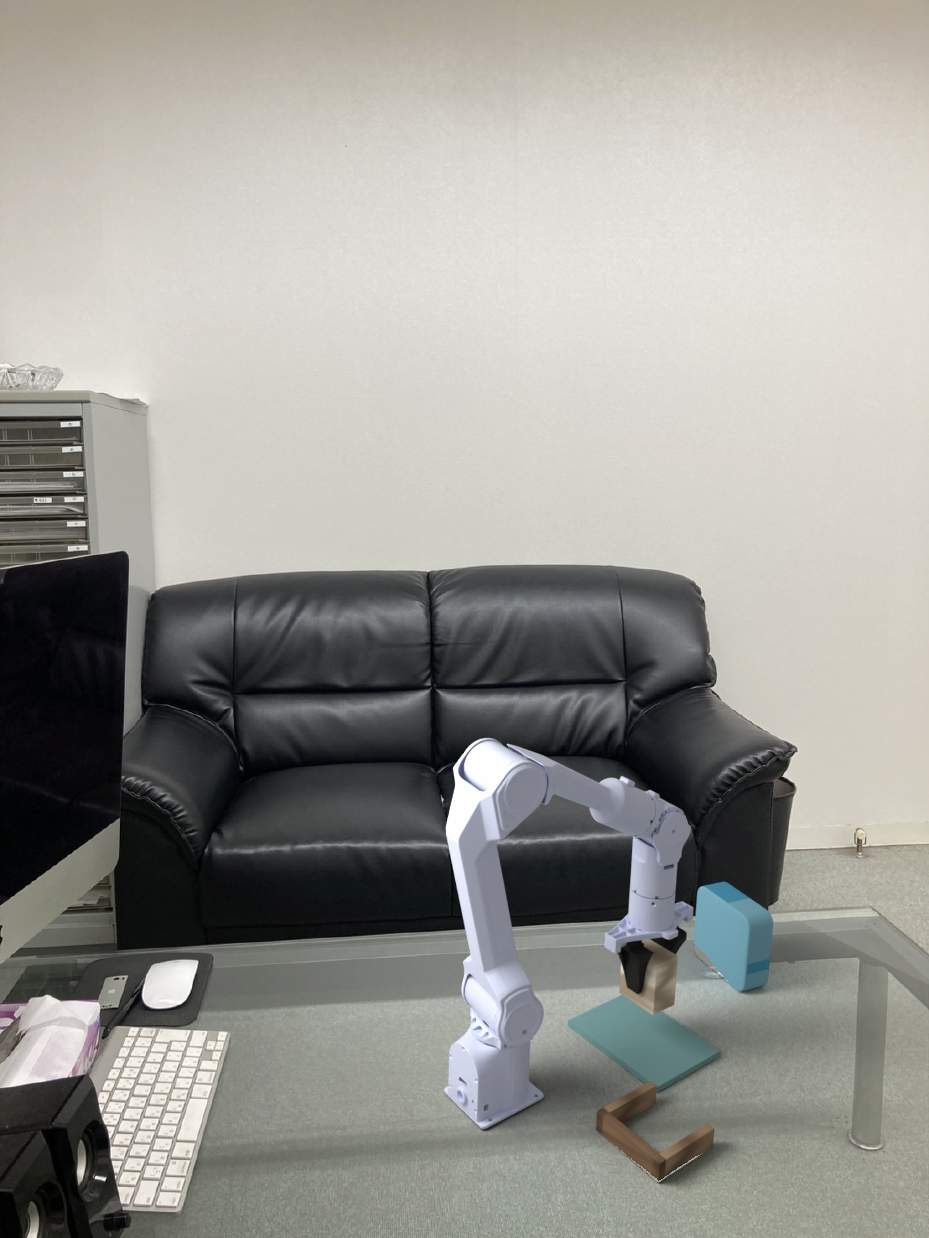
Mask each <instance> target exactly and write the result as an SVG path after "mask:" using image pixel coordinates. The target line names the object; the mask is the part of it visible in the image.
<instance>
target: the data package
mask: <svg viewBox="0 0 929 1238" xmlns="http://www.w3.org/2000/svg"><path fill="white" fill-rule="evenodd" d="M696 893H697V894H696V908H695V920H694V933H693V943H695V945H697V947H698V948H700V949H701V951H703V953H705V955H707V957H708V959H710V961H711V962H712V964H714V966H715V967H716V969H718V971H719V972H720V973H721V974H722V975H723V976H724V977H725V978H726V980H728V982H729V983H728V985H730V987H732V988H734V989H735V990H736V991H737V992H746V991H749V990H753V989H756V988H760V987H764V986H766V985H767V983H768V980H769V971H770V963H771V962H770V961H771V953H772V952H771V951H772V941H773V930H774V920H773V917H772V914H771V913H770V911H769V910H768V909H766V908H765V907H763V906H762V905H761V904H759V903H757V902H756V901H754V900H753V899H752V898H751V897H749V896H748V895H746V894H745V893H743V892H741V890H739V889H737V888H735V886H733V885H731V884H730V883H729V882H726V881H720V882H715V883H712V884H706V885H703V886H700V887H699V888H698V890H697V892H696Z"/></svg>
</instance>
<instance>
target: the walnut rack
mask: <svg viewBox="0 0 929 1238" xmlns="http://www.w3.org/2000/svg"><path fill="white" fill-rule="evenodd" d="M656 1092H657V1085H656V1084H655V1083H653V1082H652V1081H649V1082H647V1083H646V1084H644V1083H643V1084H641V1086H638V1087H637V1088H635V1089H633V1090H632V1091H629V1092H627V1094H625V1095H623V1096H621V1097H619V1098H617V1099H616V1100H613V1101H611V1102H610V1103H609V1104H607V1105H605V1106H603V1107H602V1108H600V1109H597V1111H596V1121H595V1131H597V1132H598V1133H599V1134H600V1135H601V1136H602V1137H603V1138H605V1140H607V1141H609V1143H611V1144H612V1143H613V1144H614V1145H616V1146H617V1147H618V1148H619V1149H620V1150H622V1151H623V1152H624V1153H625V1154H626V1155H627V1156H628V1157H630V1158H632V1160H633V1161H635V1162H636V1163H637V1164H639V1165H640V1166H642V1167H643V1168H644V1169H646V1171H648V1172H650V1174H651V1175H652V1176H654V1177H655V1178H657V1180H658V1181H659V1180H661V1179H663V1178H664V1177H665V1176H667V1175H669V1174H670V1173H671V1172H672V1171H674V1170H676V1169H677V1168H678V1167H680V1166H682V1165H683V1164H685V1163H687V1162H688V1161H689V1160H691V1159H692V1158H694V1157H695V1156H698V1155H700V1154H702V1153H704V1152H705V1151H707V1150H708V1151H710V1150H712V1149H713V1148H714V1138H715V1137H714V1135H715V1128H714V1127H713V1126H712V1125H711V1124H710V1123H708V1122H707V1123H705V1124H704V1125H702V1126H701V1127H699V1128H698V1129H695V1130H694V1131H693V1132H691V1133H689V1134H688V1135H687V1136H685V1137H683V1138H682V1139H680V1140H679V1141H677V1142H676V1143H673V1144H672V1145H670V1146H669V1147H668V1148H666V1149H664V1150H663V1151H661V1152H660V1153H659V1152H658V1151H657V1150H655V1149H654V1148H653V1147H652V1146H651V1145H650V1144H649V1143H647V1142H646V1141H645V1140H643V1139H642V1138H641V1137H639V1136H638V1135H637V1134H636V1133H635V1132H634V1131H633V1130H631V1129H630V1128H629V1127H627V1126H626V1125H625V1124H624V1123H625V1122H627V1121H629V1120H630V1119H632V1118H634V1117H635V1116H637V1115H639V1114H640V1113H642V1112H644V1111H646V1110H647V1109H649V1108H651V1107H653V1106H654V1105H655V1104H656V1103H657V1093H658V1092H657V1093H656ZM613 1144H612V1145H613ZM614 1145H613V1146H614ZM618 1148H617V1149H618ZM619 1149H618V1150H619ZM709 1149H710V1150H709ZM620 1150H619V1151H620ZM708 1151H707V1152H708ZM705 1153H706V1152H705ZM705 1153H704V1154H705ZM625 1154H624V1155H625ZM626 1155H625V1156H626ZM702 1155H703V1154H702ZM627 1156H626V1157H627ZM628 1157H627V1158H628ZM632 1160H631V1161H632ZM633 1161H632V1162H633Z"/></svg>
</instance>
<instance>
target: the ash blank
mask: <svg viewBox="0 0 929 1238" xmlns="http://www.w3.org/2000/svg"><path fill="white" fill-rule="evenodd" d="M642 943H644V947H646V948H647V949H649V950H651V951H652V952H653V955H652V956H651V958H650V960H649V962H648V965H647V969H646V973H645V980H644V986H643V990H642V992H641V993H640V994H636V993H635V992H633V991H632V990H630V989H629V988H627V985H626V980H625V975H624V970H623V967H622V963H621V962H620V973H619V974H620V976H619V990H618V991H619V994H620V995H624V996H625V997H627V998H628V999H630V1000H631V1001H633V1002H634V1003H636V1004H637V1005H638V1006H640V1007H641V1008H643V1009H644V1010H646V1011H647V1012H649V1013H650V1014H652V1015H655V1014H657V1013H659V1012H663V1011H665V1010H667V1009H668V1008H671V1007H673V1006H674V1005H675V1001H676V989H677V988H676V987H677V972H678V959H679V956H678V954H677V953H676V954H674V953H672V952H670V951H669V950H667V949H665V948H664V947H662V946H660V945H659V944H657V943H655V942H654V941H652V940H650V939H646V940H642Z"/></svg>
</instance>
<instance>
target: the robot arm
mask: <svg viewBox="0 0 929 1238" xmlns="http://www.w3.org/2000/svg"><path fill="white" fill-rule="evenodd" d="M506 746H507V747H506ZM506 746H504V745H503V744H502V743H501V742H500V741H498V740H497V739H495V738H493V737H491V738H490V737H484V738H479V739H477V740H475V741H474V742H472V743H471V744H470V745H468V747H467V748H466V749H465V751H464V753H462V754H461V756H460V757H459V759H458V760H457V762H456V763H455V764H454V766H453V768H452V770H453V776H454V785H455V786H454V790H453V795H452V799H451V802H450V807H449V811H448V812H449V813H448V817H447V821H446V824H445V825H446V826H445V836H446V841H447V845H448V850H449V855H450V860H451V864H452V870H453V874H454V875H453V876H454V879H455V883H456V884H455V885H456V890H457V894H458V899H459V904H460V908H461V913H462V919H463V925H464V930H465V934H466V939H467V944H468V949H469V954H470V955H468V956H467V957H466V958H465V959H464V960H463V961H462V964H463V970H464V971H463V974H464V975H463V978H462V979H463V980H462V983H461V987H460V989H461V991H460V992H461V996H462V999H463V1000H464V1002H465V1004H467V1005H469V1006H470V1008H469V1010H470V1011H469V1013H470V1014H469V1017H470V1018H471V1019H470V1026H469V1027H468V1030H467V1031H465V1033H464V1035H462V1036H461V1037H460V1038H459V1039H458V1040H456V1041H455V1042H453V1043H452V1044H451V1046H450V1048H449V1051H448V1052H449V1053H448V1076H447V1077H448V1081H447V1083H448V1085H447V1086H445V1087H444V1094H446V1096H448V1098H450V1099H451V1101H453V1102H454V1103H455V1105H456V1106H458V1107H459V1108H460V1109H461V1111H463V1113H465V1114H466V1116H467V1117H468V1118H470V1119H471V1120H472V1121H473V1122H474V1123H475V1125H477V1127H479V1128H480V1129H482V1130H486V1129H488V1128H490V1127H492V1126H493V1125H496V1124H497V1123H500V1122H501V1121H503V1120H505V1119H507V1118H509V1117H511V1116H512V1115H514V1114H517V1113H518V1112H520V1111H522V1110H525V1109H526V1108H527V1107H530V1106H531V1105H534V1104H536V1103H537V1102H539V1101H541V1100H543V1099H544V1093H543V1092H542V1091H541V1090H540V1089H539V1088H537V1087H536V1086H535V1085H534V1084H533V1083H532V1082H531V1081H530V1059H531V1057H530V1056H531V1041H532V1040H533V1038H534V1037H535V1036H536V1035H537V1033H538V1031H539V1030H540V1029H541V1026H542V1025H543V1021H544V1016H545V1012H544V1010H545V1009H544V1006H543V1004H542V1001H541V1000H540V999H539V998H538V997H537V996H536V994H535V993H534V991H533V985H532V983H531V981H530V979H529V977H528V975H527V972H526V971H525V970H524V968H523V965H522V964H521V962H520V961H519V959H518V954H517V947H516V943H515V938H514V937H515V936H514V932H513V926H512V921H511V917H510V916H511V914H510V911H509V910H510V909H509V905H508V899H507V893H506V887H505V882H504V877H503V873H502V872H503V871H502V867H501V866H502V865H501V862H500V861H501V860H500V855H499V850H498V845H497V843H498V841H501V840H503V839H505V838H506V837H507V836H508V835H510V833H511V832H512V831H514V830H515V829H516V828H517V827H518V826H519V825H520V824H522V822H523V821H524V820H525V819H527V818H528V817H529V816H531V814H533V813H534V811H536V810H537V808H539V806H540V805H541V804H542V805H544V806H546V805H548V804H550V801H551V799H552V798H553V795H556V796H558V797H561V798H563V799H566V800H569V801H571V802H574V803H577V804H580V805H582V806H585V807H588V808H589V813H590V815H591V817H592V818H593V819H594V821H595V822H596V823H599V824H601V825H603V826H606V827H608V828H611V829H614V830H615V831H618V832H619V833H620V832H621V833H623V834H625V835H628V836H630V837H632V851H631V852H632V853H631V864H630V865H631V868H630V881H629V883H630V884H629V896H628V897H629V898H628V912H627V914H626V915H625V916H624V917H622V918H623V919H621V920H620V921H619V922H618V924H617V923H616V924H617V925H615V926H614V927H613V928H612V929H611V930H609V931H607V932H605V933H604V944H603V945H604V946H603V947H604V948H606V949H607V950H609V952H612V953H613V954H615V955H616V954H617V955H618V958H619V961H620V964H621V963H622V967H623V970H624V975H625V980H626V985H627V988H629V989H630V990H632V991H633V992H635V993H636V994H640V993H641V992H642V990H643V986H644V980H645V973H646V969H647V965H648V962H649V960H650V958H651V956H652V955H653V952H652V951H651V950H649V949H647V948H646V947H644V943H642V940H646V939H650V940H652V941H654V942H655V943H657V944H659V945H660V946H662V947H664V948H665V949H667V950H669V951H670V952H672V953H674V954H676V955H677V954H678V952H679V950H680V949H681V947H682V946H683V944H684V943H685V942H686V941H687V936H688V933H687V931H686V930H684V929H683V928H681V927H679V926H680V924H681V923H682V922H683V921H684V922H686V923H689V922H692V921H693V919H694V918H693V916H694V907H693V906H692V905H690V904H688V903H686V902H685V901H679V902H676V903H675V901H676V889H677V888H676V887H677V873H678V862H680V859H681V858H682V852H683V848H684V846H685V844H686V842H687V840H688V838H689V837H690V834H691V830H692V826H691V825H689V821H688V819H687V817H686V815H685V812H684V811H683V809H681V808H679V807H678V806H676V805H674V804H672V803H669V802H668V801H667V800H665V799H662V798H661V797H660V794H659V793H657V792H655V791H653V790H651V789H649V790H642V789H640V788H638V787H635V785H636V782H635V781H634V780H631V779H630V778H627V777H625V776H624V775H621V776H620V778H619V779H618V778H615V777H608V778H604V779H603V780H601V781H600V782H598V781H596V780H594V779H592V778H590V777H588V776H586V775H584V774H582V773H580V772H578V771H576V770H574V769H572V768H569V767H568V766H565V765H564V764H561V763H560V762H557V761H555V760H553V759H551V758H549V757H547V756H545V755H543V754H540V753H538V752H534V751H531V750H528V749H526V748H523V747H521V746H518V745H514V744H510V743H507V744H506Z"/></svg>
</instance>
